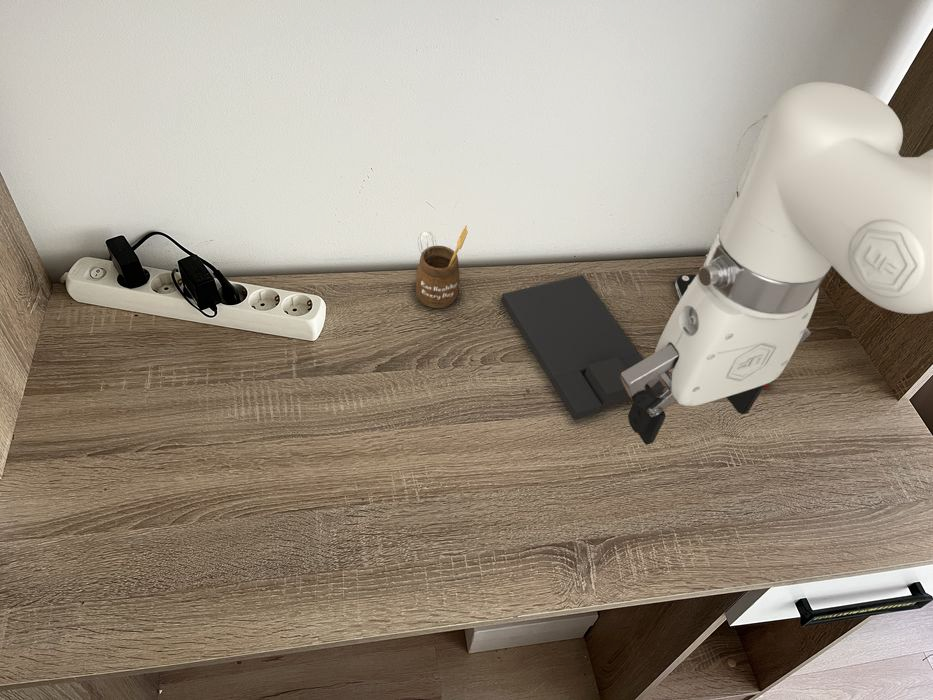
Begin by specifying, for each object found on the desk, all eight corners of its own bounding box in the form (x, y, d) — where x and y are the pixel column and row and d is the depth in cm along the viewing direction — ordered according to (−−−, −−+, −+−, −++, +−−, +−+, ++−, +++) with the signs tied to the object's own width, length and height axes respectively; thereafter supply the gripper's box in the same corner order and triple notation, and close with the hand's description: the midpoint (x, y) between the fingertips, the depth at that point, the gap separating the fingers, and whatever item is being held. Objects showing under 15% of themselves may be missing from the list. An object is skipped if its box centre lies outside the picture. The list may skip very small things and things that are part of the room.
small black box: (631, 399, 96) (637, 385, 94) (601, 408, 95) (606, 394, 93) (612, 371, 99) (617, 356, 97) (582, 379, 98) (587, 364, 96)
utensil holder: (413, 280, 107) (417, 213, 98) (457, 280, 108) (464, 213, 99) (416, 310, 103) (420, 243, 94) (461, 309, 104) (469, 243, 95)
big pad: (661, 394, 97) (664, 387, 96) (573, 420, 93) (576, 413, 92) (580, 282, 110) (582, 274, 109) (500, 301, 106) (502, 293, 105)
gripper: (690, 332, 47) (623, 480, 59) (895, 277, 52) (794, 423, 65) (629, 255, 51) (579, 408, 64) (824, 212, 57) (742, 360, 69)
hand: (687, 415), depth 64 cm, fingers open, 9 cm apart
